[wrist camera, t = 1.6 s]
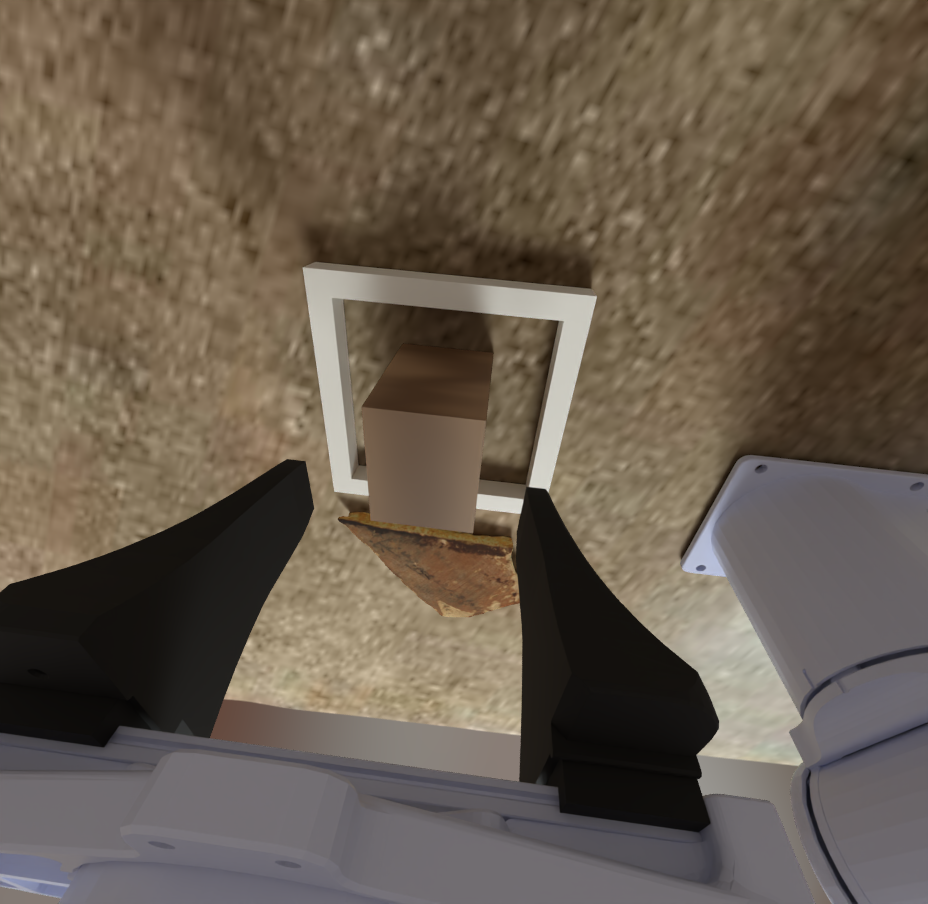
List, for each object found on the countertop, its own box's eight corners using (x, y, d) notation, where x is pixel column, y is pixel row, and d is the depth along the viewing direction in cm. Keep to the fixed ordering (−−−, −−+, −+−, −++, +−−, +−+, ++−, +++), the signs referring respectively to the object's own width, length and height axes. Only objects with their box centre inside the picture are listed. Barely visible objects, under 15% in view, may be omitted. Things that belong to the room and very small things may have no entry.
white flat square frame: (591, 288, 16) (596, 296, 15) (541, 501, 22) (542, 516, 21) (315, 261, 16) (302, 267, 15) (342, 477, 23) (334, 491, 22)
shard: (345, 501, 24) (334, 523, 23) (451, 450, 21) (446, 470, 20) (447, 604, 29) (443, 627, 28) (545, 573, 26) (547, 597, 25)
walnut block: (493, 352, 18) (486, 420, 13) (482, 447, 21) (473, 533, 16) (403, 342, 18) (361, 407, 13) (404, 438, 21) (370, 520, 16)
